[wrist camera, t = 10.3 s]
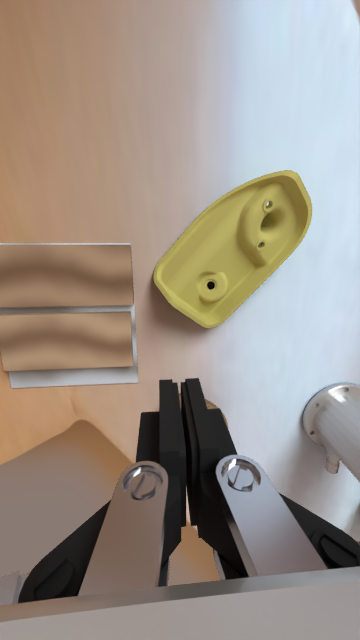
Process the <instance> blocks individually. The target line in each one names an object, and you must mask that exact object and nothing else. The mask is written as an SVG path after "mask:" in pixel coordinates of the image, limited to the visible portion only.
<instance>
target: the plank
mask: <svg viewBox="0 0 360 640" xmlns="http://www.w3.org/2000/svg"><path fill="white" fill-rule="evenodd" d="M0 352H1V358H2V363H3V369H4V371H19V370H46V369H72V368H98V367H124V366H133V343H132V323H131V311H116V312H69V313H21V314H0Z"/></svg>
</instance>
